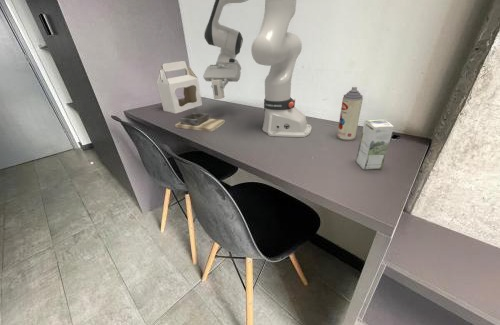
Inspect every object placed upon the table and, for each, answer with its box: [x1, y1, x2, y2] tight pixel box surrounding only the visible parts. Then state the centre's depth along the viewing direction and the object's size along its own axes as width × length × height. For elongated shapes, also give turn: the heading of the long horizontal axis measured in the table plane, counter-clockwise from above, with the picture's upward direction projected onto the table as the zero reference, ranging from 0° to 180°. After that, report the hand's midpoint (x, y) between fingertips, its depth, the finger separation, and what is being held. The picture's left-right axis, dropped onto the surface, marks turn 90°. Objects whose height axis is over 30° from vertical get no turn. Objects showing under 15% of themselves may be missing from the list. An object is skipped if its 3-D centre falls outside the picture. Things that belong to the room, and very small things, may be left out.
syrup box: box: [355, 119, 395, 171], centre depth 67 cm, size 6×6×14 cm
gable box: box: [156, 60, 203, 115], centre depth 139 cm, size 22×13×28 cm, turn 142°
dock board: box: [174, 112, 226, 133], centre depth 113 cm, size 22×13×4 cm, turn 66°
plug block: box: [211, 79, 225, 100], centre depth 113 cm, size 4×4×9 cm
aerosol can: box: [336, 86, 364, 142], centre depth 85 cm, size 7×7×20 cm
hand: (217, 87), depth 112 cm, fingers closed on plug block, 4 cm apart
